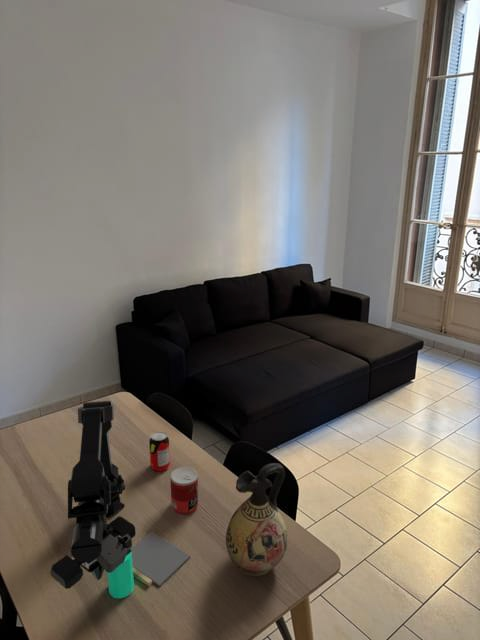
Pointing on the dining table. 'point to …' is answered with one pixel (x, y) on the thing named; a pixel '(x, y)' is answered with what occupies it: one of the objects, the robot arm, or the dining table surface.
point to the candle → (122, 579)
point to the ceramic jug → (257, 524)
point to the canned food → (184, 490)
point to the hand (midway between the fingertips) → (98, 578)
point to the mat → (157, 558)
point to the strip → (142, 577)
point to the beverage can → (159, 451)
